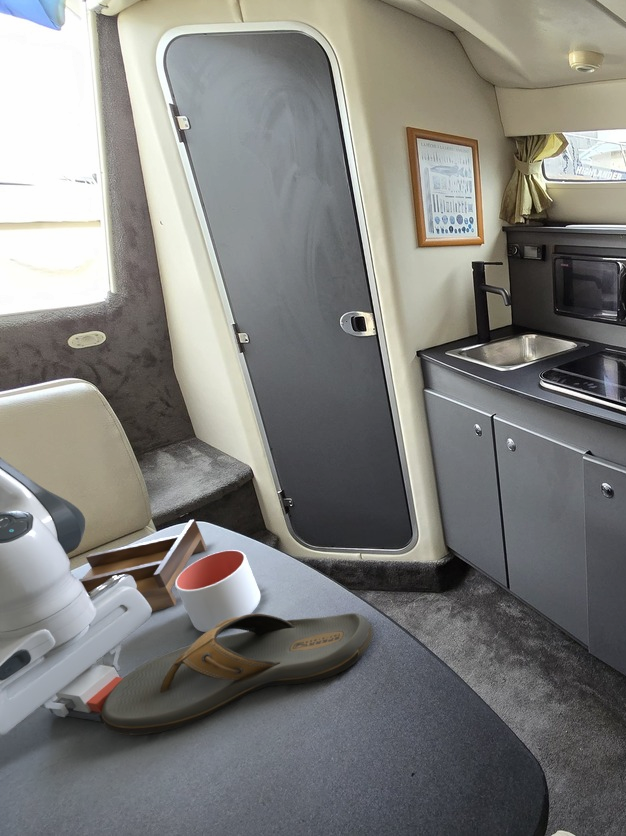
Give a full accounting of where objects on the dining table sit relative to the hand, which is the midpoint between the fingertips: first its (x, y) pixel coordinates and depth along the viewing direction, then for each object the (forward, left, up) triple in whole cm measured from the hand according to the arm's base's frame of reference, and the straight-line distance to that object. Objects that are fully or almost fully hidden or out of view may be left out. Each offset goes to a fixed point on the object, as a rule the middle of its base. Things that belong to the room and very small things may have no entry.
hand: (89, 692), depth 72 cm
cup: (+13, +13, -3) cm, 19 cm away
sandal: (+21, -4, -3) cm, 21 cm away
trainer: (0, 0, -2) cm, 2 cm away
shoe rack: (-5, +27, -3) cm, 27 cm away
